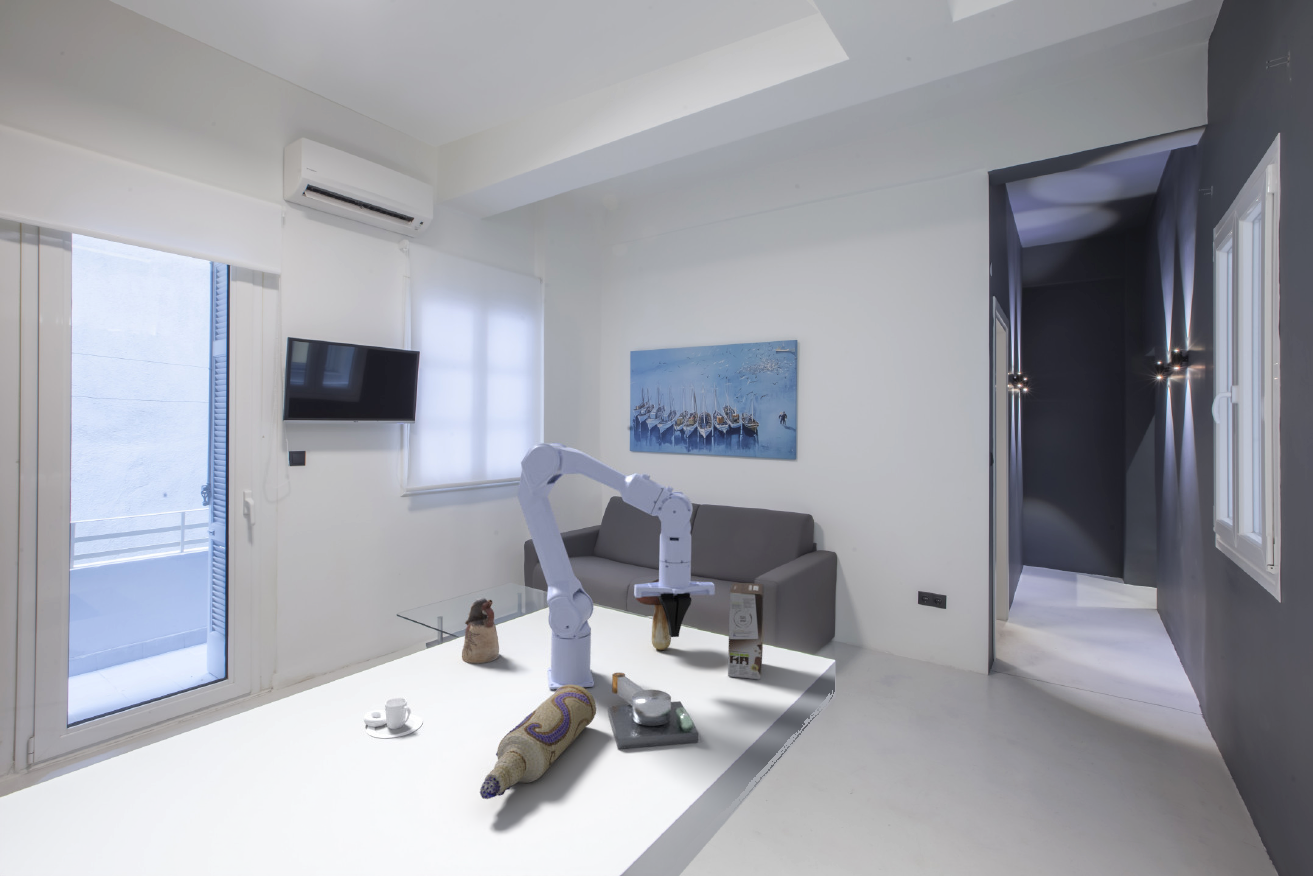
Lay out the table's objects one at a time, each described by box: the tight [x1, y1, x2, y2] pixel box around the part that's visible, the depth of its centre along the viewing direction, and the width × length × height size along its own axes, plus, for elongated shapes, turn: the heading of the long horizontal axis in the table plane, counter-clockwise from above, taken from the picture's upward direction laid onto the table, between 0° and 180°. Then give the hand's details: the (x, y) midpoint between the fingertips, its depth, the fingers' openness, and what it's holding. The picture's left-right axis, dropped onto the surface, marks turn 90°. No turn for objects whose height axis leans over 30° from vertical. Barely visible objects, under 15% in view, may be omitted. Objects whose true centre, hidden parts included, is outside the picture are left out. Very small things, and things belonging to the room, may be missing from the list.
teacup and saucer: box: [363, 697, 424, 739], centre depth 97 cm, size 9×8×4 cm
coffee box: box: [727, 582, 764, 680], centre depth 122 cm, size 9×6×16 cm
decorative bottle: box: [479, 684, 597, 800], centre depth 86 cm, size 26×8×7 cm, turn 162°
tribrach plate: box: [607, 700, 699, 750], centre depth 97 cm, size 11×12×4 cm
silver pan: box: [611, 672, 672, 726], centre depth 101 cm, size 15×6×3 cm, turn 31°
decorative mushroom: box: [635, 578, 672, 651], centre depth 133 cm, size 11×11×15 cm
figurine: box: [461, 597, 500, 664], centre depth 127 cm, size 7×7×12 cm
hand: (673, 635), depth 113 cm, fingers closed
